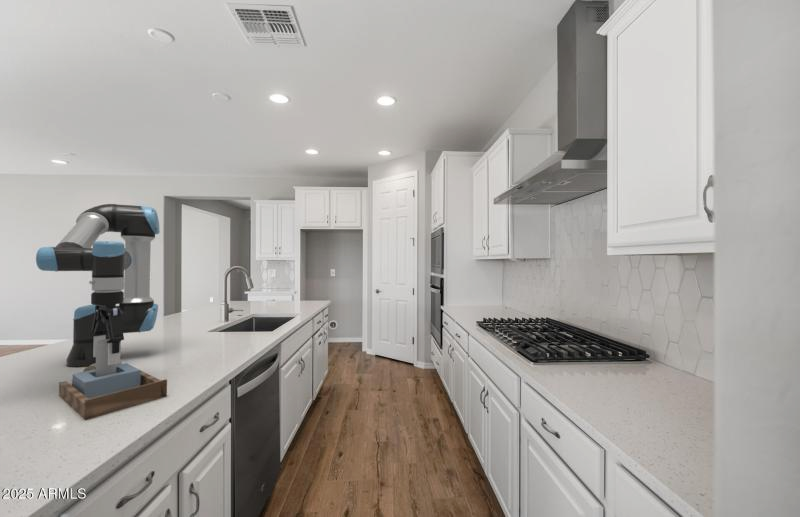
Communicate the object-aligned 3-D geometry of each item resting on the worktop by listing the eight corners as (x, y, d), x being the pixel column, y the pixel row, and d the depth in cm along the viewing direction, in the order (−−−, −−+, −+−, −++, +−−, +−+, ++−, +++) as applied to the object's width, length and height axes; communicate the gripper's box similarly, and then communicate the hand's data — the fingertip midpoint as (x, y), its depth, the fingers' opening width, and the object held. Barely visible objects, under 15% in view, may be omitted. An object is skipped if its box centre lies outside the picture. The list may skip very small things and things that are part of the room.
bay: (58, 399, 97) (59, 379, 98) (133, 381, 112) (133, 364, 112) (85, 424, 83) (85, 400, 83) (166, 400, 98) (167, 380, 98)
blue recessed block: (72, 393, 99) (72, 373, 99) (126, 381, 110) (126, 363, 110) (83, 403, 92) (84, 382, 92) (140, 389, 103) (140, 370, 103)
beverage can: (92, 383, 98) (93, 343, 98) (98, 378, 102) (99, 339, 103) (113, 380, 100) (114, 341, 101) (118, 375, 105) (119, 338, 105)
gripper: (79, 289, 105) (78, 355, 105) (105, 294, 92) (103, 371, 91) (109, 288, 112) (108, 350, 111) (138, 292, 98) (136, 364, 98)
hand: (106, 360), depth 101 cm, fingers open, 13 cm apart
